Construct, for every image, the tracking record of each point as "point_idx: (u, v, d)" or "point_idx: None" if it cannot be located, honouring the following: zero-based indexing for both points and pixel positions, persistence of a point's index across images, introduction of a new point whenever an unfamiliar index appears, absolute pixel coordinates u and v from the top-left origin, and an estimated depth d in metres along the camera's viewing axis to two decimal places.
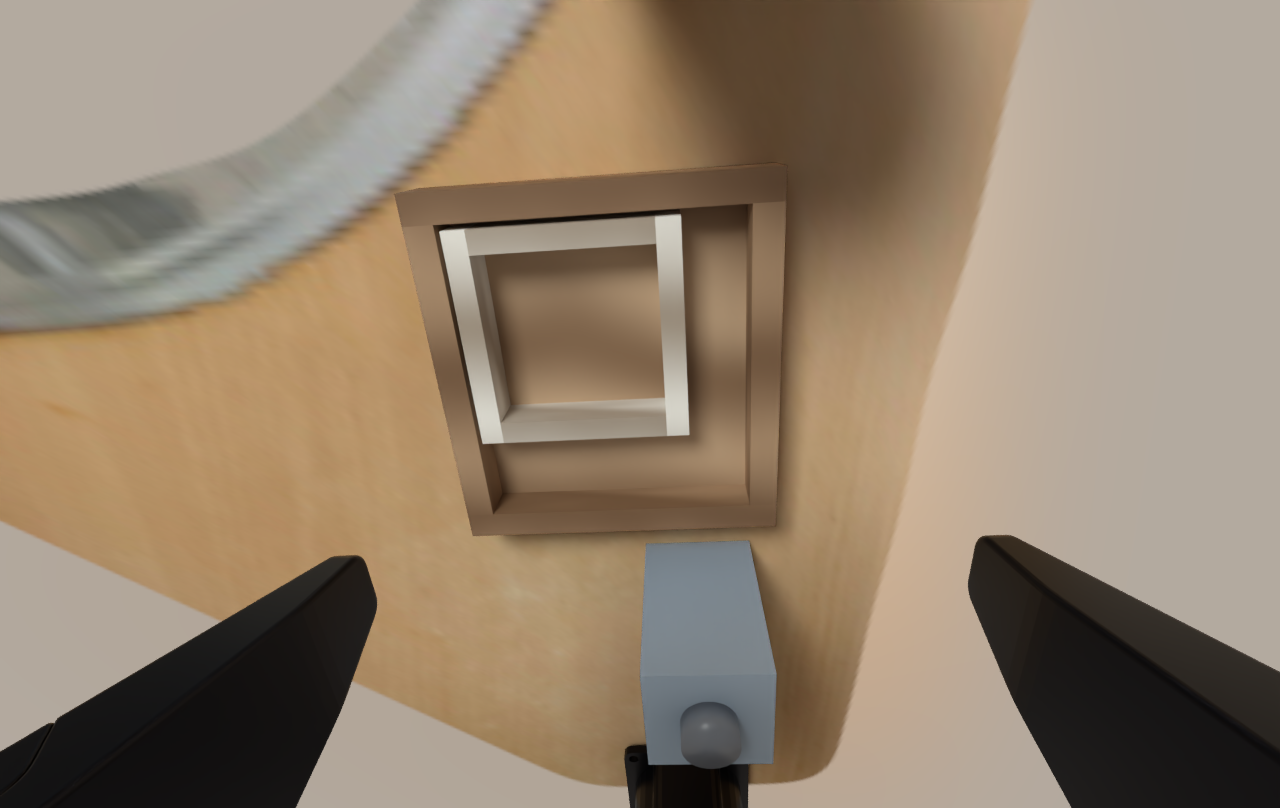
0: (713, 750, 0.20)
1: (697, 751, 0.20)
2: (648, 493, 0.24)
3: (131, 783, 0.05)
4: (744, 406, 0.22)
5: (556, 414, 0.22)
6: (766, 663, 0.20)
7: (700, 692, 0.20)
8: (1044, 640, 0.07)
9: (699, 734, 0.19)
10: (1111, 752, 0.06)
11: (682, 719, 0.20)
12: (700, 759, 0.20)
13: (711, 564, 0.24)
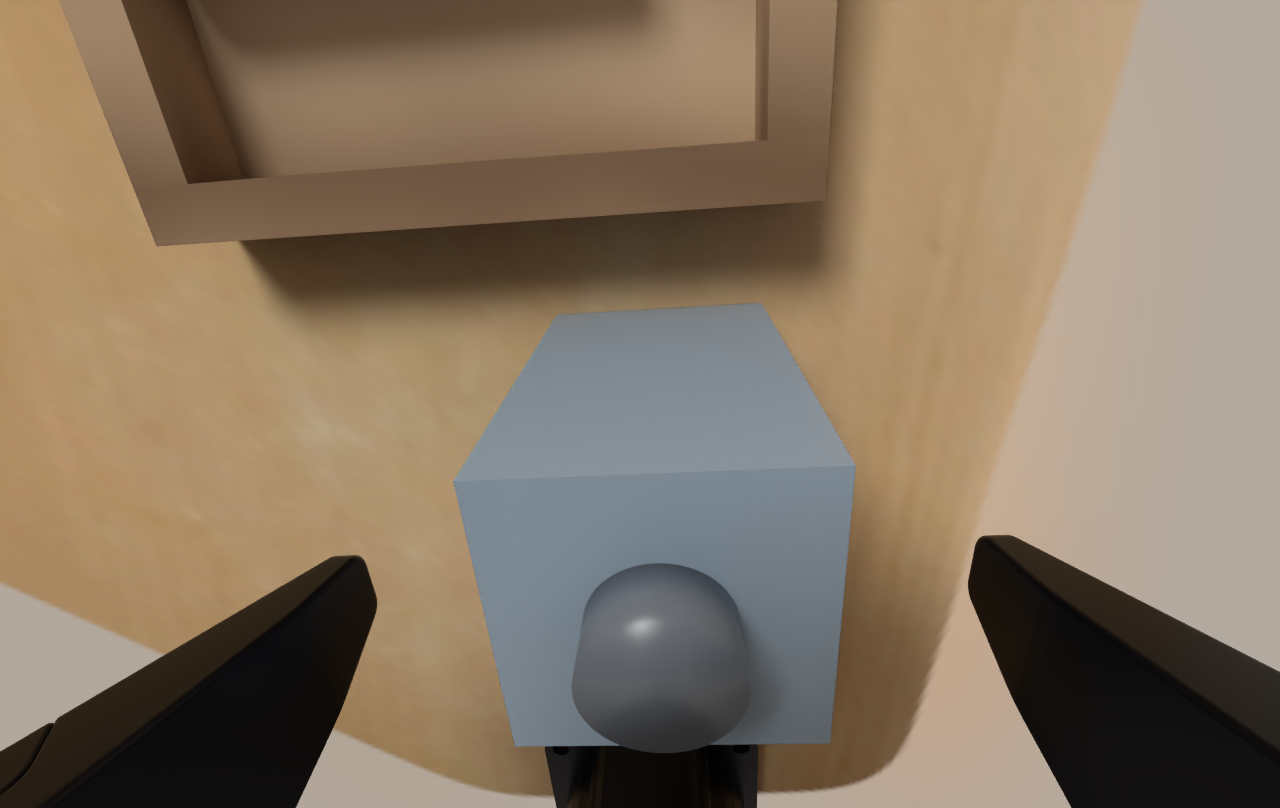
0: (667, 697, 0.07)
1: (620, 700, 0.07)
2: (544, 156, 0.11)
3: (131, 784, 0.05)
4: None
5: None
6: (822, 447, 0.07)
7: (632, 531, 0.07)
8: (1044, 640, 0.07)
9: (622, 645, 0.06)
10: (1111, 752, 0.06)
11: (584, 615, 0.07)
12: (631, 725, 0.07)
13: (683, 327, 0.12)
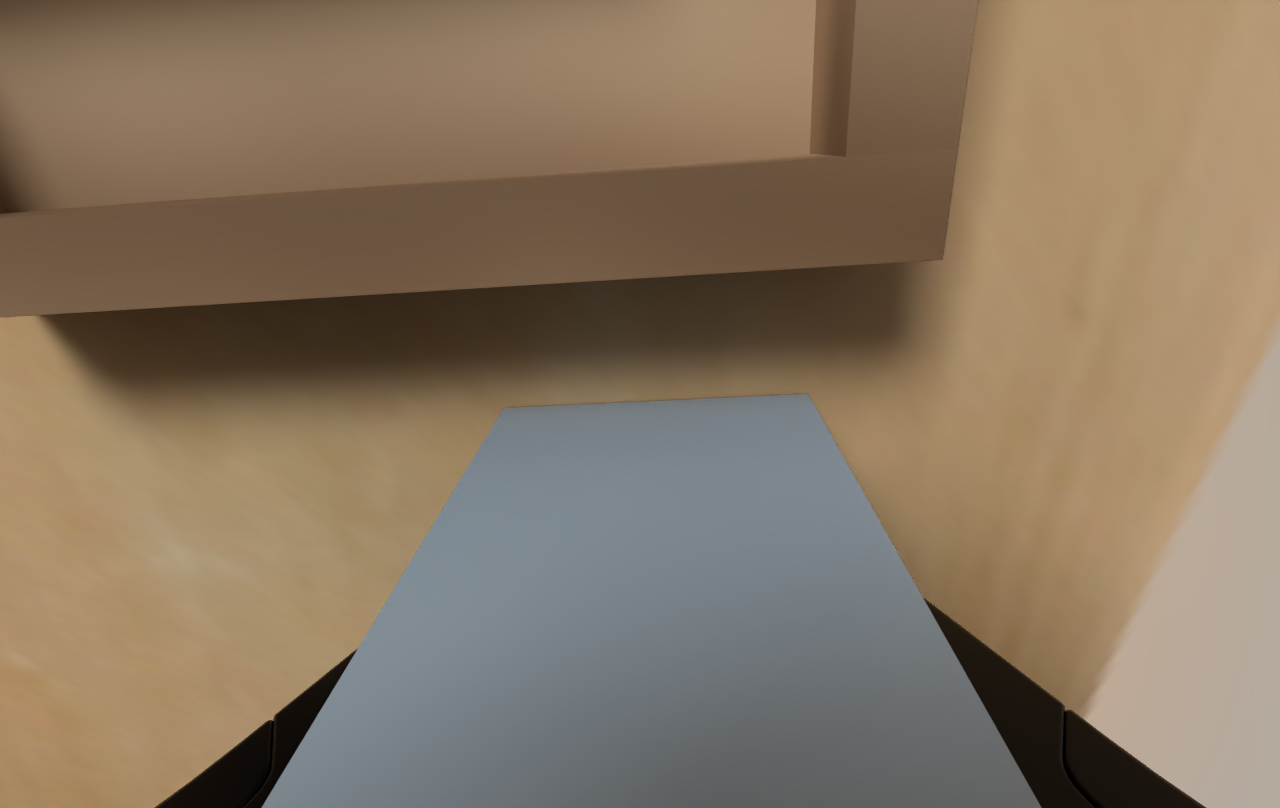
0: None
1: None
2: (467, 180, 0.07)
3: None
4: None
5: None
6: None
7: None
8: None
9: None
10: None
11: None
12: None
13: (692, 448, 0.07)
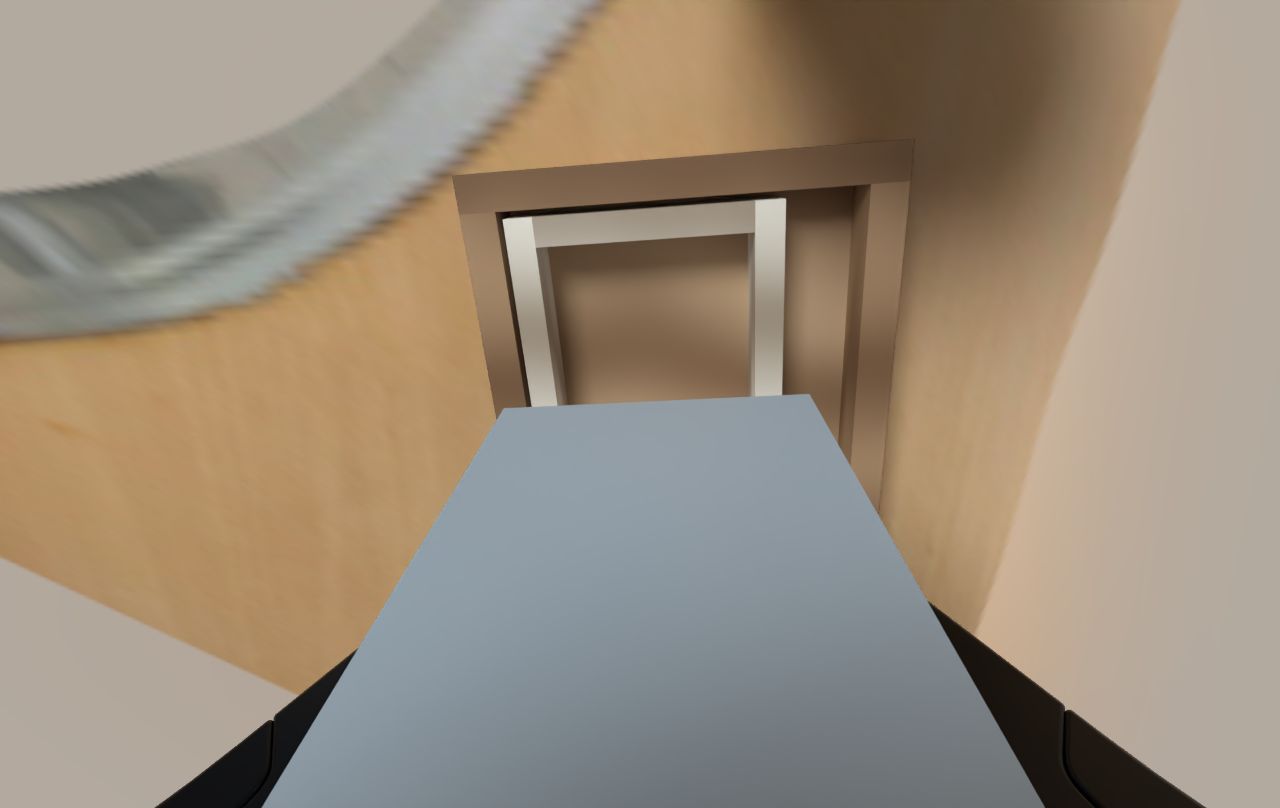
0: None
1: None
2: None
3: None
4: (838, 422, 0.20)
5: None
6: None
7: None
8: None
9: None
10: None
11: None
12: None
13: (693, 448, 0.07)
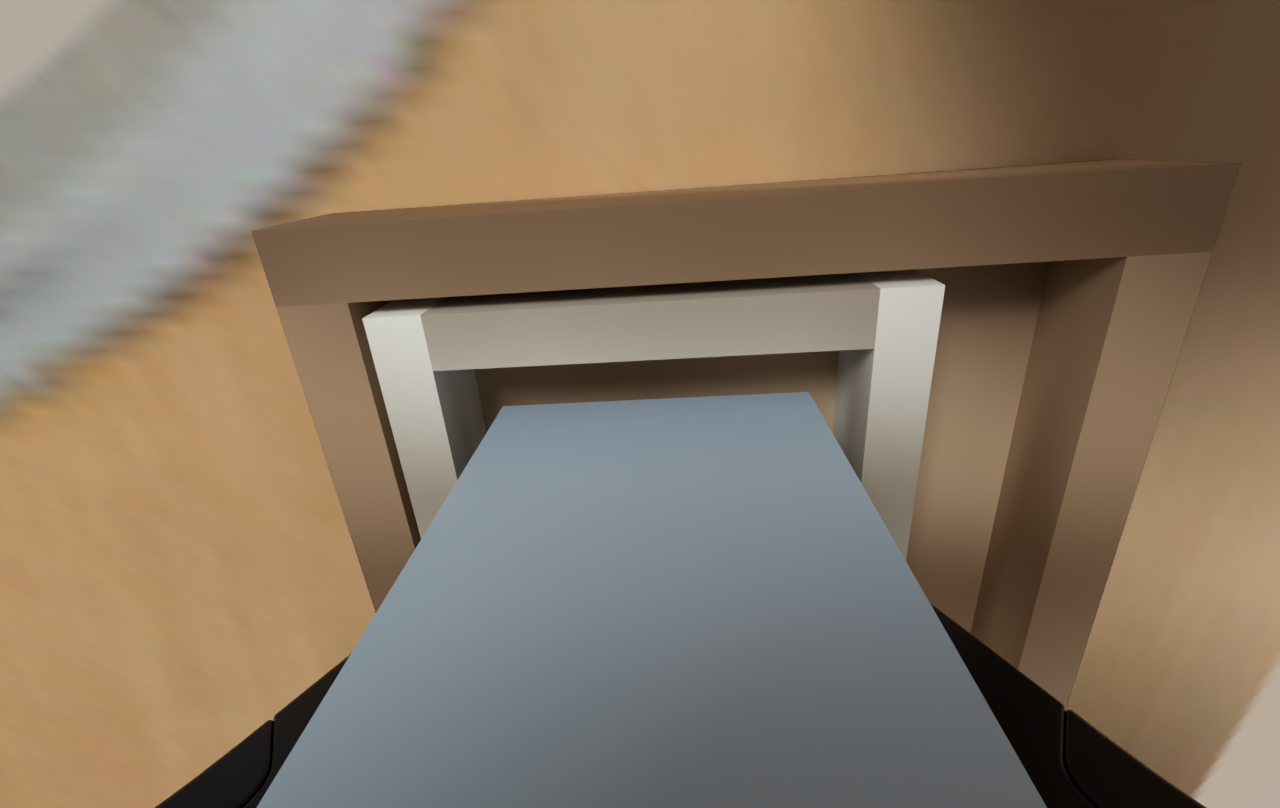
0: None
1: None
2: None
3: None
4: (969, 625, 0.12)
5: None
6: None
7: None
8: None
9: None
10: None
11: None
12: None
13: (693, 446, 0.07)
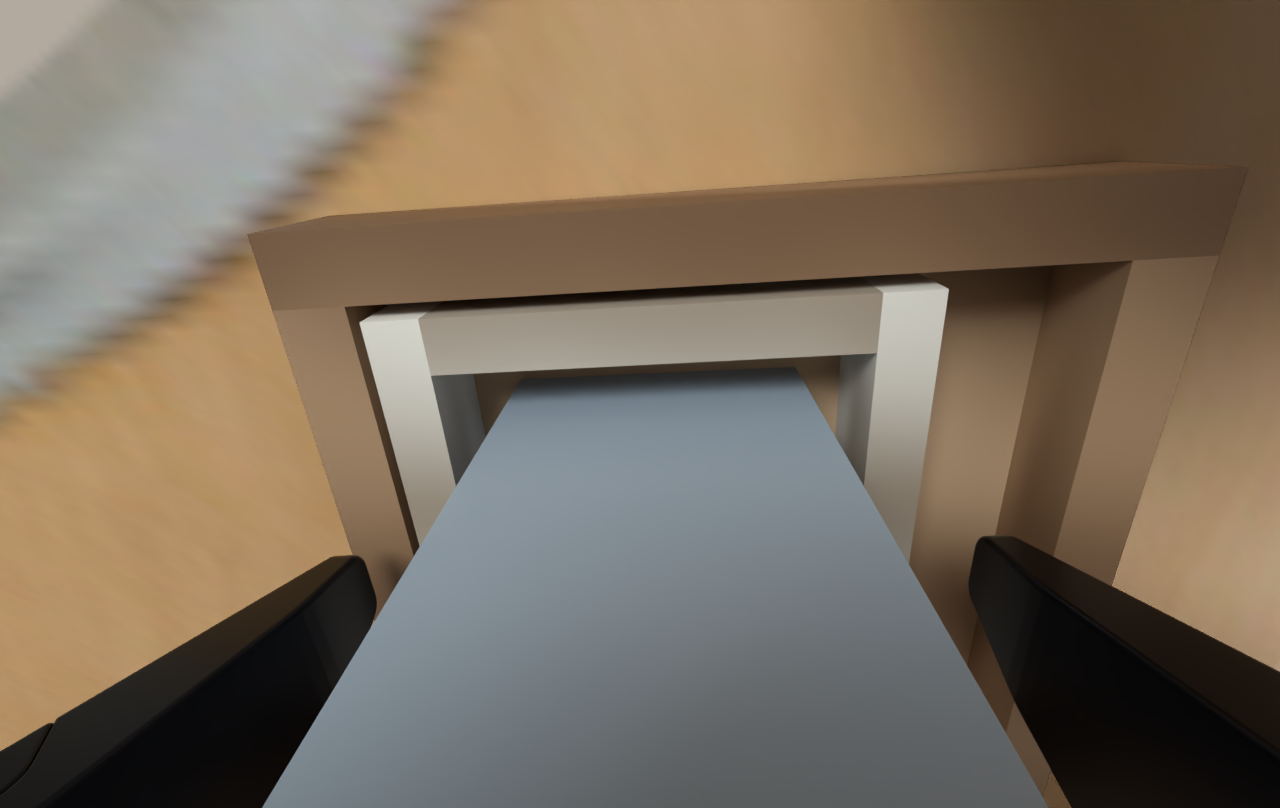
0: None
1: None
2: None
3: (130, 783, 0.05)
4: (971, 630, 0.12)
5: None
6: (972, 751, 0.04)
7: None
8: (1044, 640, 0.07)
9: None
10: (1111, 752, 0.06)
11: None
12: None
13: (691, 410, 0.08)
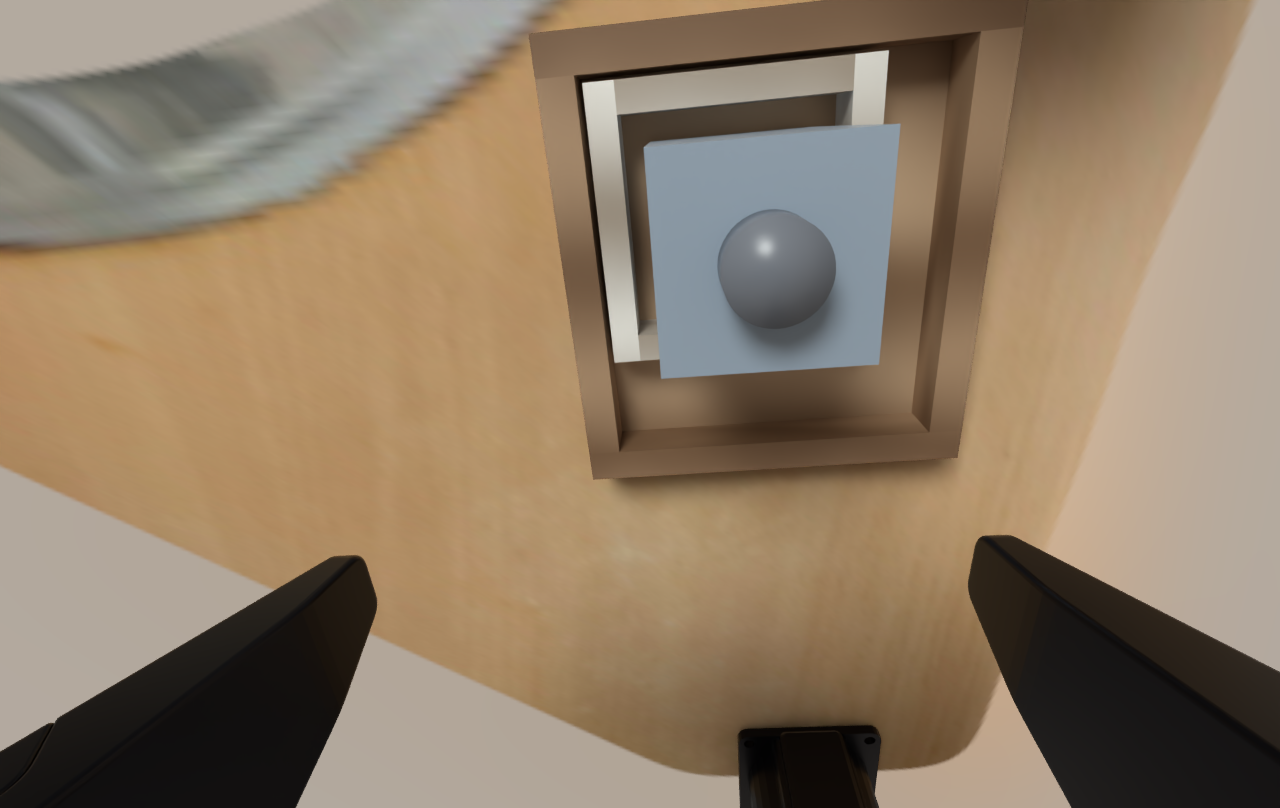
0: (782, 277, 0.10)
1: (752, 282, 0.11)
2: (798, 425, 0.20)
3: (130, 782, 0.05)
4: (920, 314, 0.19)
5: None
6: (877, 124, 0.11)
7: (755, 183, 0.11)
8: (1044, 640, 0.07)
9: (757, 234, 0.10)
10: (1111, 751, 0.06)
11: (722, 248, 0.11)
12: (758, 303, 0.11)
13: (755, 132, 0.15)
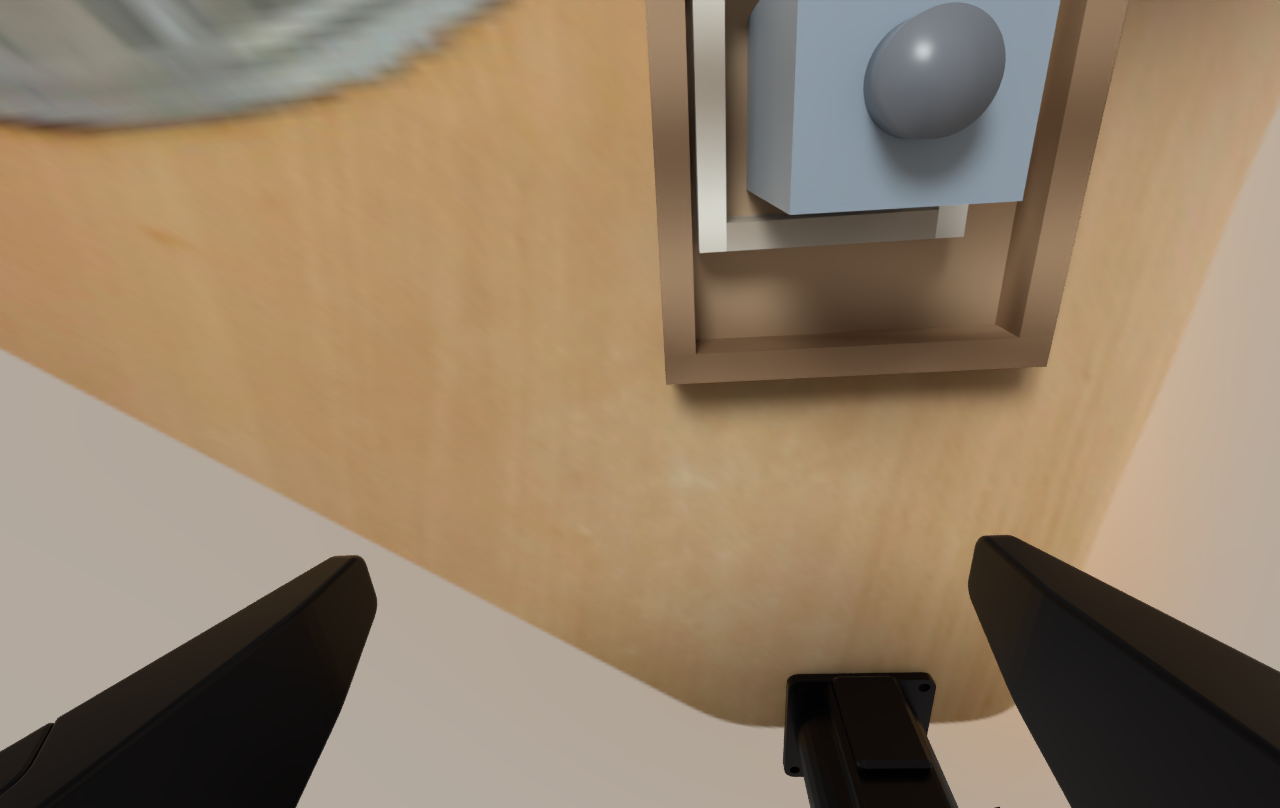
0: (946, 76, 0.10)
1: (913, 82, 0.10)
2: (878, 334, 0.19)
3: (130, 783, 0.05)
4: (1012, 215, 0.18)
5: (791, 216, 0.17)
6: None
7: None
8: (1044, 640, 0.07)
9: (925, 24, 0.10)
10: (1111, 752, 0.06)
11: (873, 56, 0.10)
12: (916, 107, 0.10)
13: None
